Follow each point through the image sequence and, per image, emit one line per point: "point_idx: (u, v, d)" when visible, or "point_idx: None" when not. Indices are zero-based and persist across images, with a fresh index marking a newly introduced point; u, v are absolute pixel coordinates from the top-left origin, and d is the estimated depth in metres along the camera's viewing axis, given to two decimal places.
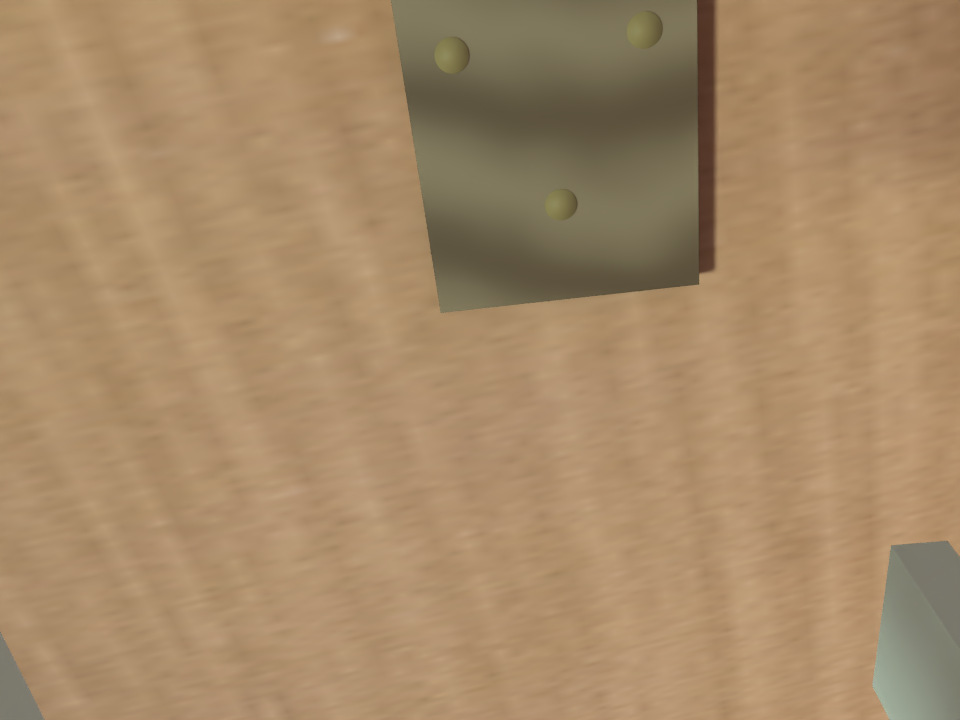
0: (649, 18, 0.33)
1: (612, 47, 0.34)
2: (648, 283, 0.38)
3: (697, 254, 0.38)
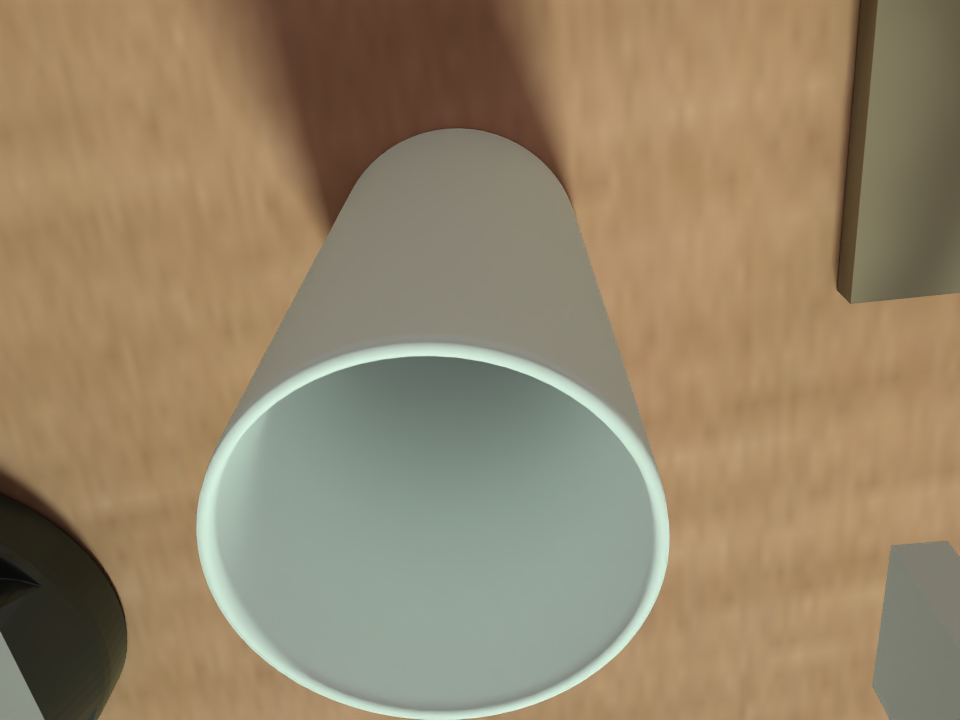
0: None
1: None
2: None
3: None
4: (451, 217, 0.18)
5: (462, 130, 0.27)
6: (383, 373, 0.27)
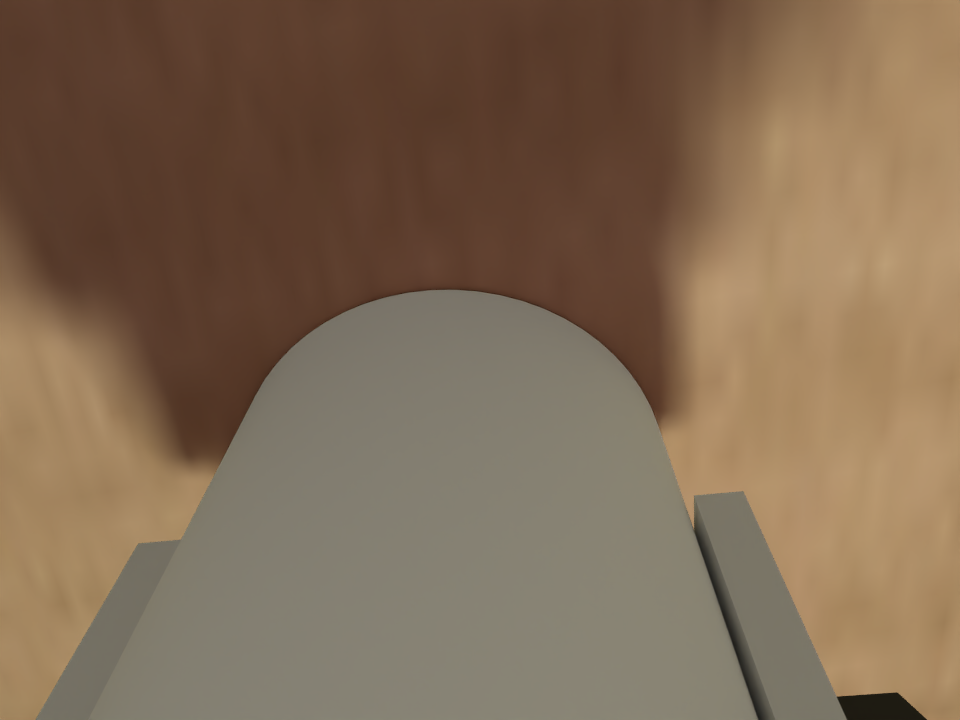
0: None
1: None
2: None
3: None
4: None
5: (457, 297, 0.14)
6: None
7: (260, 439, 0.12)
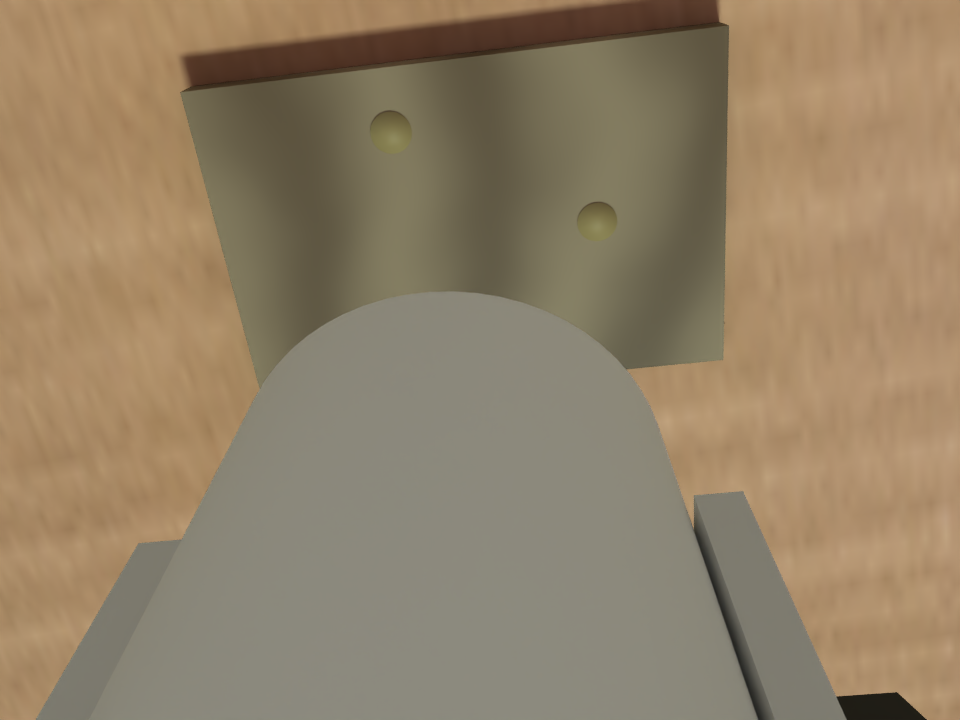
0: (377, 127, 0.28)
1: (411, 168, 0.29)
2: (717, 101, 0.28)
3: (682, 33, 0.27)
4: None
5: (457, 299, 0.14)
6: None
7: (259, 442, 0.12)
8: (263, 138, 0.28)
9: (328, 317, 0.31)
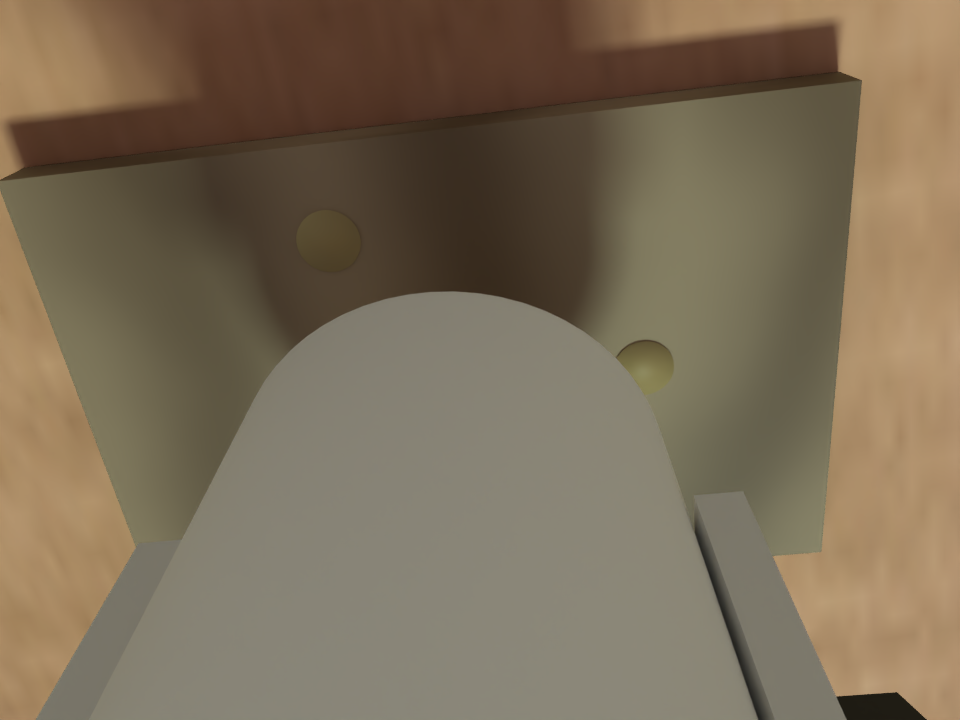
0: (307, 233, 0.18)
1: (362, 292, 0.19)
2: (836, 195, 0.18)
3: (787, 92, 0.17)
4: None
5: (457, 299, 0.14)
6: None
7: (259, 442, 0.12)
8: (131, 249, 0.18)
9: None
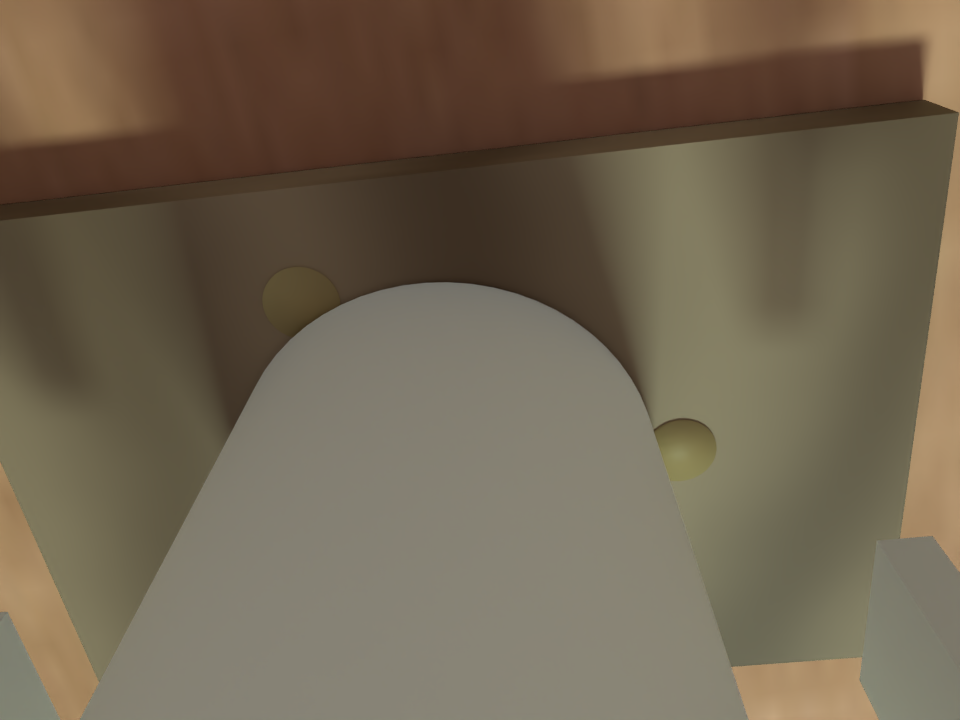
0: (276, 294, 0.15)
1: None
2: (921, 250, 0.14)
3: (865, 127, 0.14)
4: None
5: (451, 289, 0.14)
6: None
7: (260, 425, 0.12)
8: (64, 312, 0.15)
9: None
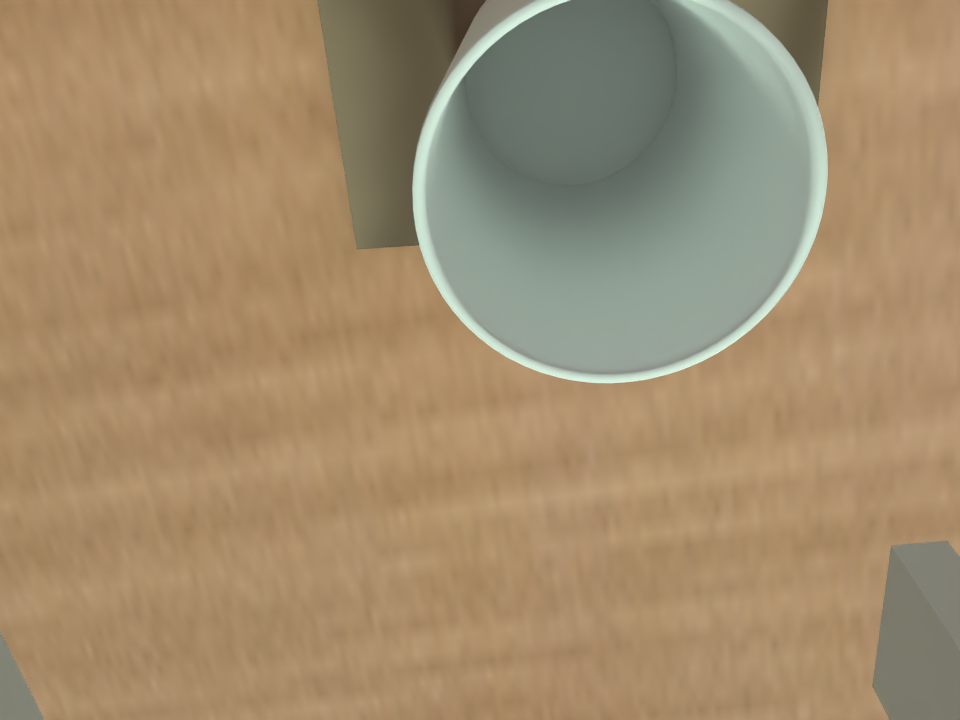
0: None
1: None
2: None
3: None
4: None
5: None
6: (500, 181, 0.29)
7: None
8: None
9: None
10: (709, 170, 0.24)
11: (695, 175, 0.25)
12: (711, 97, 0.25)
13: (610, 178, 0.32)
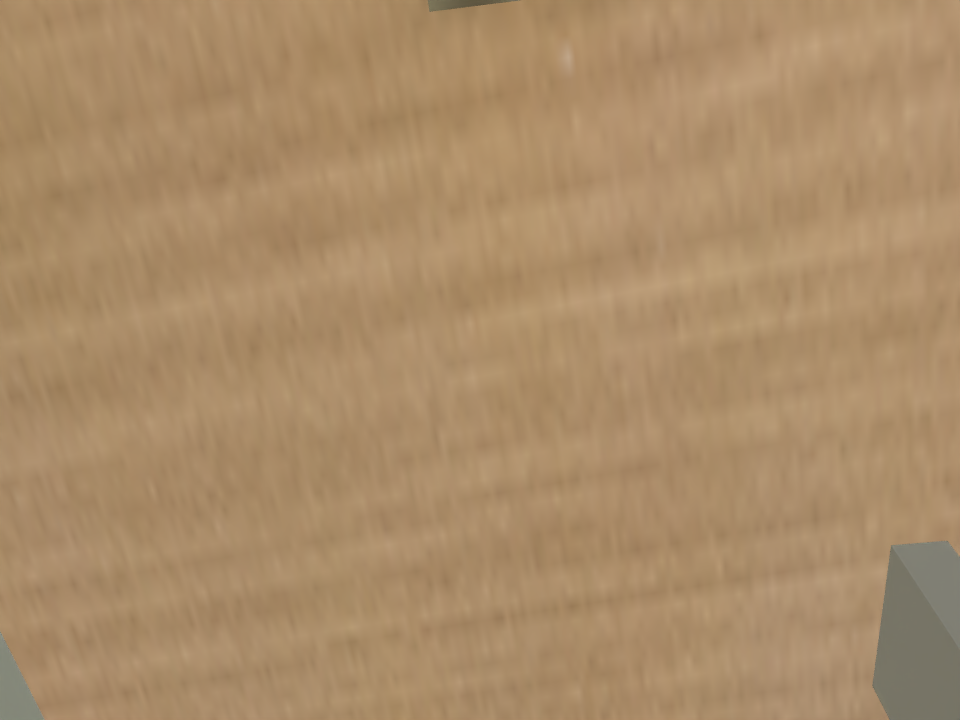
0: None
1: None
2: None
3: None
4: None
5: None
6: None
7: None
8: None
9: None
10: None
11: None
12: None
13: None
